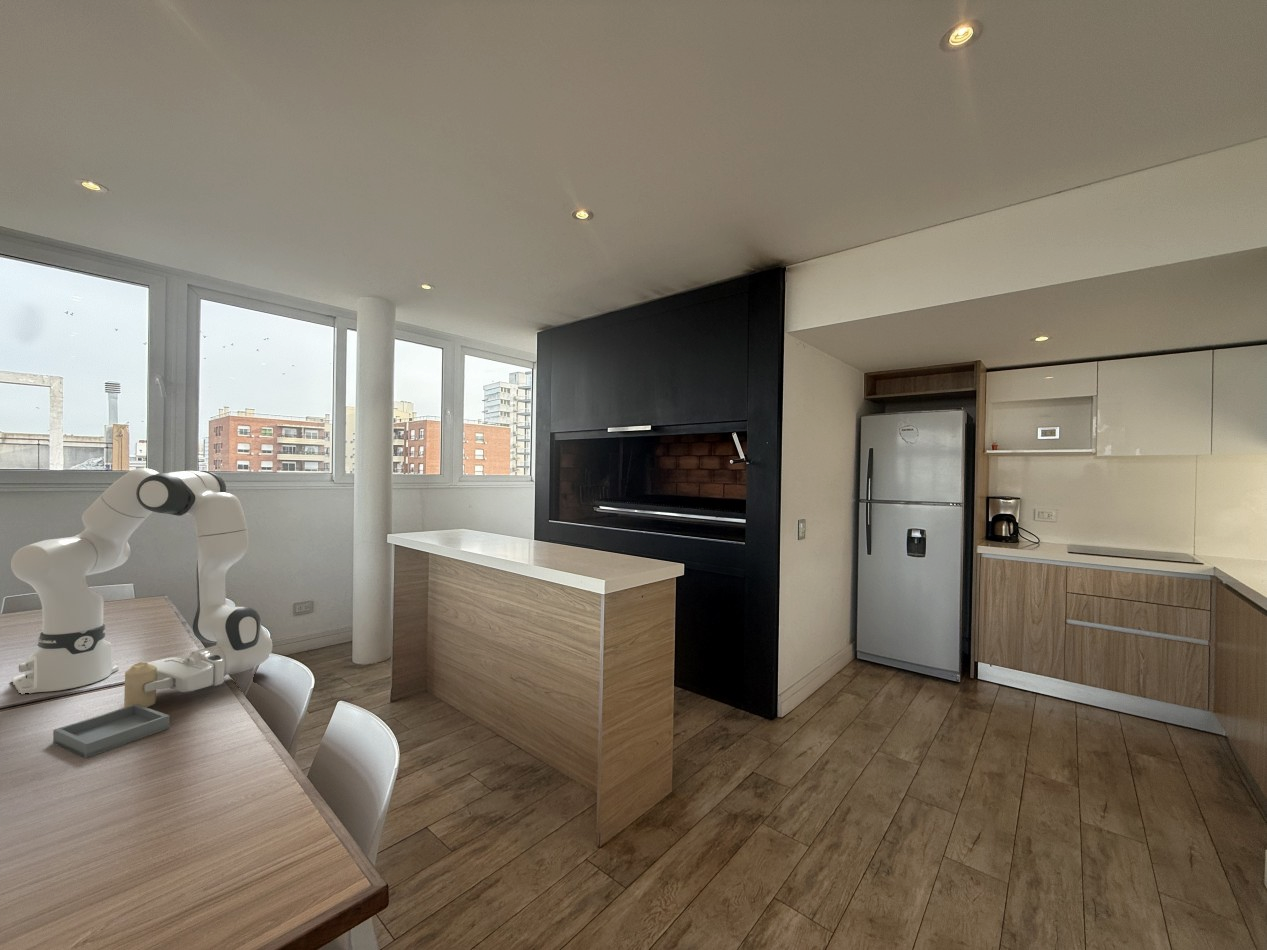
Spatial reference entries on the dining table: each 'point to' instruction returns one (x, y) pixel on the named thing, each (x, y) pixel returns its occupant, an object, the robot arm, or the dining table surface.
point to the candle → (139, 685)
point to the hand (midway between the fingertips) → (136, 685)
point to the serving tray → (110, 730)
